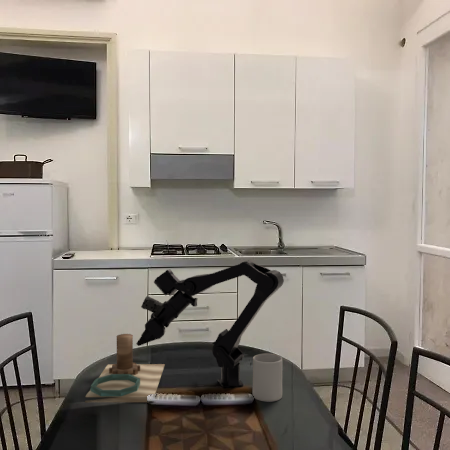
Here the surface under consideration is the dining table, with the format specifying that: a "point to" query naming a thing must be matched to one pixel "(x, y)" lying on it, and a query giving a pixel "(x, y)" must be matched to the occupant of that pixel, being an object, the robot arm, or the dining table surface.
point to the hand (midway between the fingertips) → (139, 340)
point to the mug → (267, 377)
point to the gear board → (127, 384)
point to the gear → (124, 356)
